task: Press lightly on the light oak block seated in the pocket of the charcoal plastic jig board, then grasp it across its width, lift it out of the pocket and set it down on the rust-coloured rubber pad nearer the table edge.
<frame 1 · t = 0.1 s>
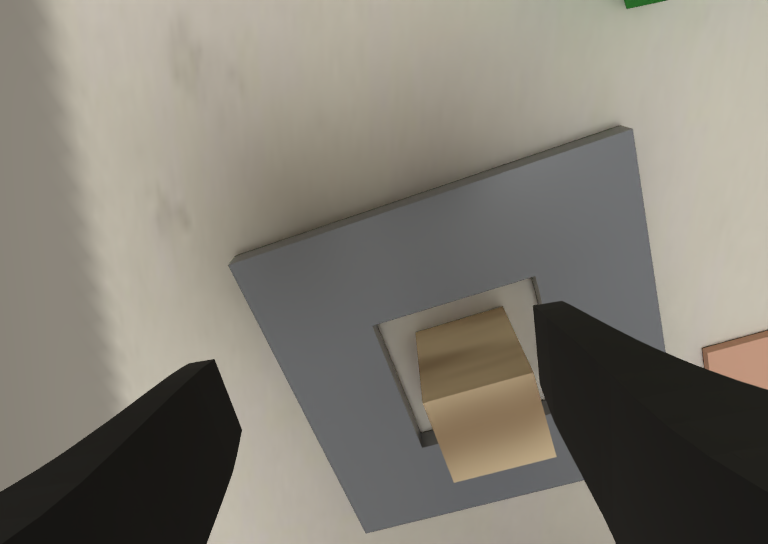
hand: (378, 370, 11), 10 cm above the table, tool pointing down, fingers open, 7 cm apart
pocket board: (470, 356, 23), on the table
oak block: (470, 355, 23), resting in pocket board
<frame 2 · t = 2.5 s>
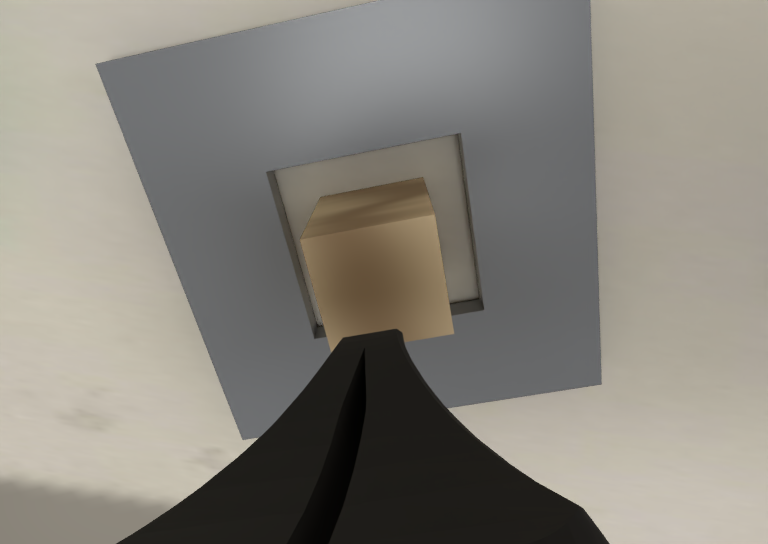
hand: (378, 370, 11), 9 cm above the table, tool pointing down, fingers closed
pocket board: (381, 236, 20), on the table
oak block: (381, 235, 20), resting in pocket board
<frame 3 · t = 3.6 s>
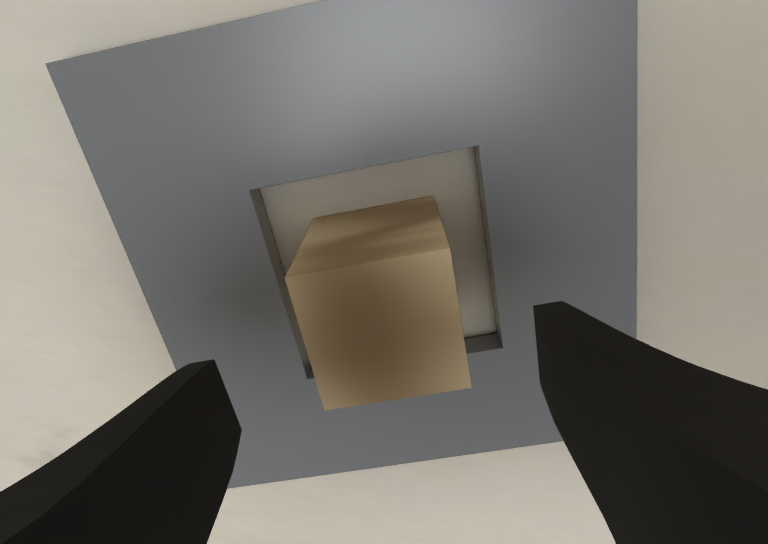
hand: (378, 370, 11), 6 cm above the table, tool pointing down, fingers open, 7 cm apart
pocket board: (384, 262, 17), on the table
oak block: (384, 261, 17), resting in pocket board
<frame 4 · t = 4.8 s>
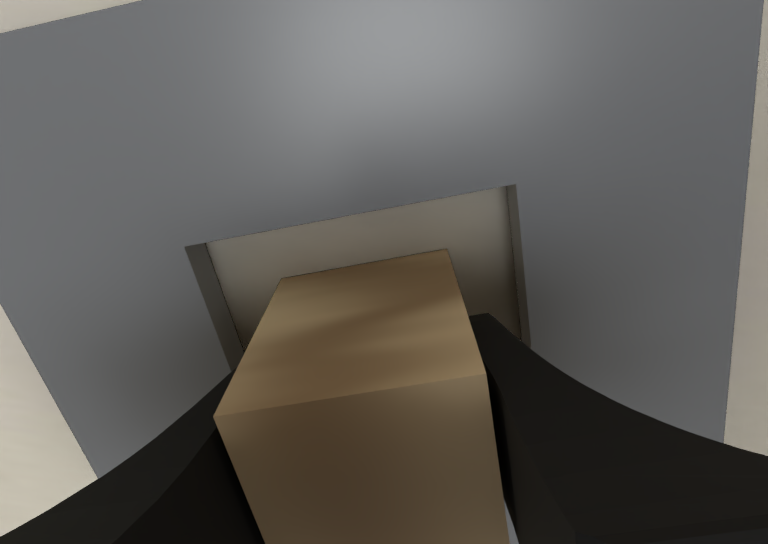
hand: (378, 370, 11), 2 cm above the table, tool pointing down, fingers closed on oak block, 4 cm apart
pocket board: (379, 336, 12), on the table
oak block: (379, 336, 12), resting in pocket board, touching gripper
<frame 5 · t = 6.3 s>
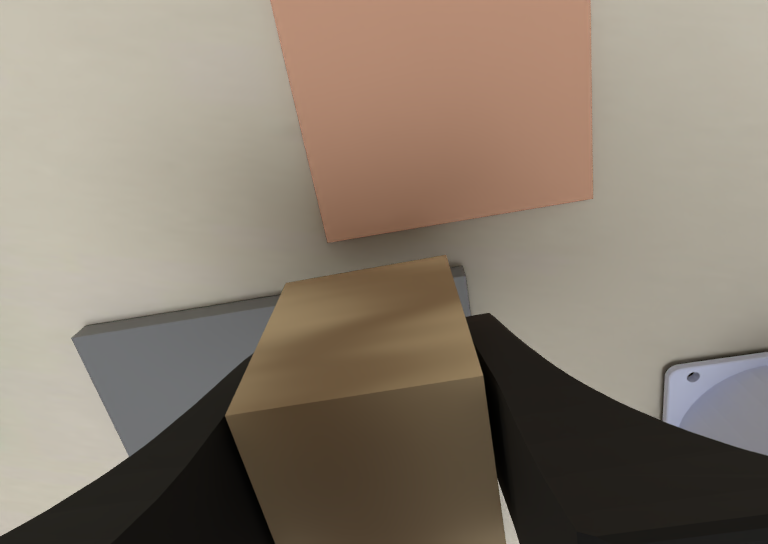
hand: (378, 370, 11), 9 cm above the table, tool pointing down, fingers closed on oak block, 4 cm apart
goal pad: (438, 80, 17), on the table
pocket board: (312, 446, 23), on the table
oak block: (380, 338, 13), point 7 cm above the table, touching gripper
when the fingers open (3 cm above the table, at t = 8.2 s): oak block stays where it is, resting on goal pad.
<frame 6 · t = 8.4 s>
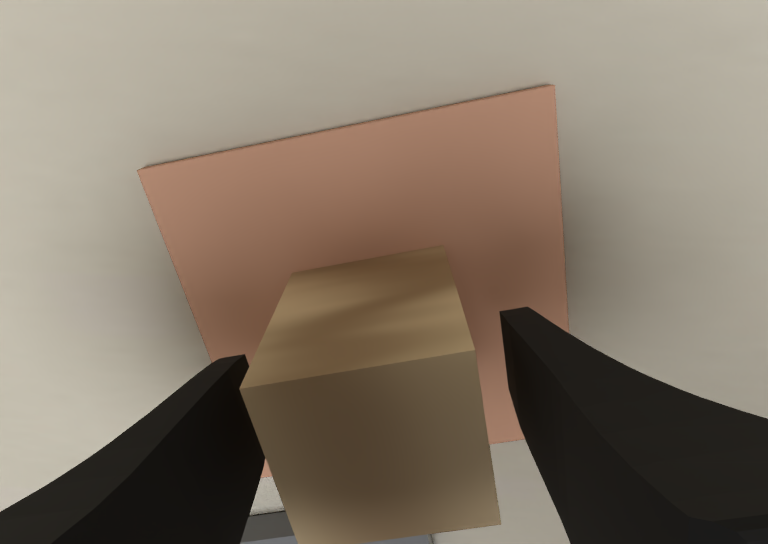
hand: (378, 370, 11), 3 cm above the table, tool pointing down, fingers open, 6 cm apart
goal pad: (380, 309, 14), on the table
oak block: (382, 325, 14), resting on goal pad
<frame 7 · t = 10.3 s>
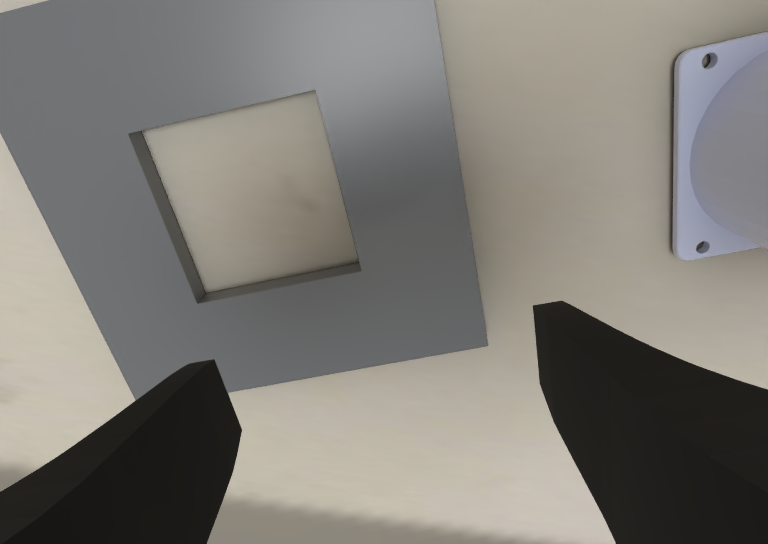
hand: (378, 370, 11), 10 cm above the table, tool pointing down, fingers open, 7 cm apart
pocket board: (257, 199, 20), on the table
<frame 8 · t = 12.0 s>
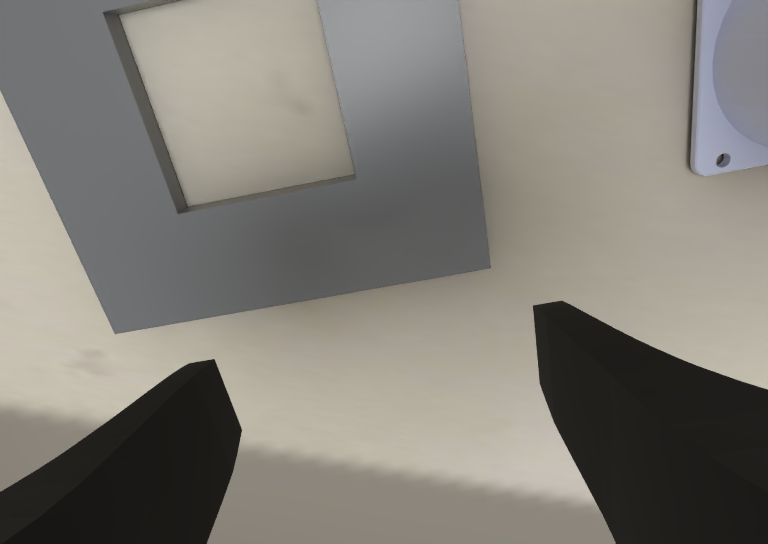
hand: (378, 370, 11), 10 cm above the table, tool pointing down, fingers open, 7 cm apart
pocket board: (244, 98, 18), on the table
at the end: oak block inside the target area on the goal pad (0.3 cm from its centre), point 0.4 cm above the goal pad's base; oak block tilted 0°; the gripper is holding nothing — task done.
